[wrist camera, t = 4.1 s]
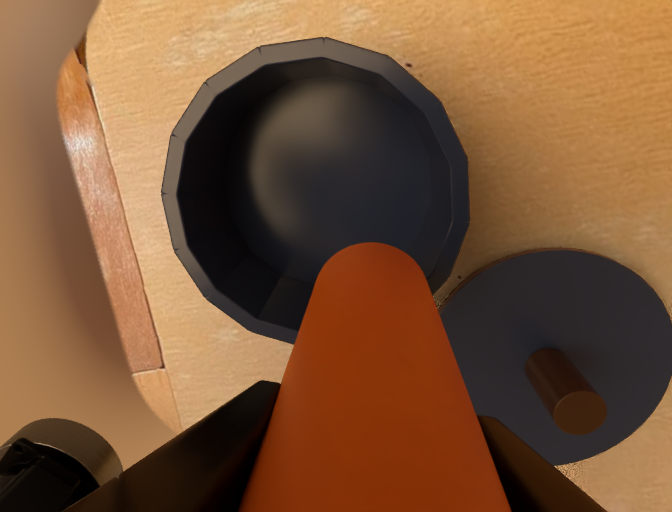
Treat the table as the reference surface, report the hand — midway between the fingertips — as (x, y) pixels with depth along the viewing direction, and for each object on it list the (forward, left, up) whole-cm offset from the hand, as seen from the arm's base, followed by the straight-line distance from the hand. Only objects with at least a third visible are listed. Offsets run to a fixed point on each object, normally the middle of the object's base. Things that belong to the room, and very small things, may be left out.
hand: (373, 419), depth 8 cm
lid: (+1, -10, -12) cm, 16 cm away
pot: (+1, +3, -13) cm, 13 cm away
